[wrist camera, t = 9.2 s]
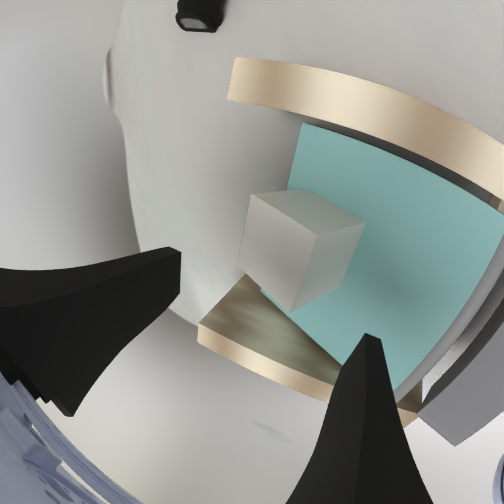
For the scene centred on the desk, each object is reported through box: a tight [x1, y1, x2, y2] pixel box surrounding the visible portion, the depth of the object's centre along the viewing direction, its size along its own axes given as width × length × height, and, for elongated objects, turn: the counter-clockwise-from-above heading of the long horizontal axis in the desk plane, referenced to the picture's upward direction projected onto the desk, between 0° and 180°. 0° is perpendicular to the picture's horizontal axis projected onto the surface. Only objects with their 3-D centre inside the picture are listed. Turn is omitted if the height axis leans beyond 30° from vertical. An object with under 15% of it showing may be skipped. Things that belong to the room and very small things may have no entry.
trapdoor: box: [260, 123, 504, 446], centre depth 12 cm, size 18×12×4 cm, turn 80°
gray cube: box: [237, 189, 366, 313], centre depth 13 cm, size 4×4×4 cm
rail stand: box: [197, 57, 504, 428], centre depth 14 cm, size 17×17×7 cm
